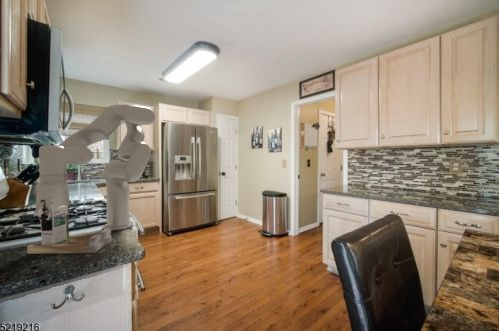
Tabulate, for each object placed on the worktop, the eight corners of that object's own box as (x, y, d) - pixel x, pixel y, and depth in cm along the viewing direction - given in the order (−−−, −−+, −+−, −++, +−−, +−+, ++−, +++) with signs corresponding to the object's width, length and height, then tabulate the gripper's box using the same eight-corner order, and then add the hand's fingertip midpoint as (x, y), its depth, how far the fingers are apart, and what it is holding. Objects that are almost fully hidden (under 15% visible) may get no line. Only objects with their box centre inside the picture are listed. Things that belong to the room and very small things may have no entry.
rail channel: (52, 241, 88) (52, 229, 88) (111, 240, 90) (111, 228, 90) (27, 253, 77) (27, 239, 77) (94, 252, 79) (94, 238, 79)
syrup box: (53, 248, 80) (52, 208, 79) (40, 247, 81) (39, 207, 81) (69, 242, 86) (68, 204, 85) (57, 241, 87) (56, 204, 86)
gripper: (60, 176, 91) (62, 220, 92) (20, 182, 73) (22, 235, 74) (80, 176, 91) (81, 220, 92) (45, 182, 74) (46, 235, 75)
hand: (55, 226), depth 83 cm, fingers closed on syrup box, 6 cm apart
